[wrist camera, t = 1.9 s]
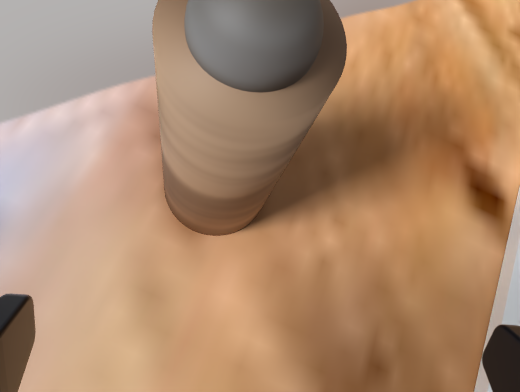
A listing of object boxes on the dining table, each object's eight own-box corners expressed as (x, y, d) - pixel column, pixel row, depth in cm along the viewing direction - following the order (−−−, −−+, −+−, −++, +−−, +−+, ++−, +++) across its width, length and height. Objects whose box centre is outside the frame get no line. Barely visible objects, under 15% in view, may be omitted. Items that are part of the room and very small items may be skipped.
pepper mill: (240, 252, 23) (332, 116, 9) (146, 208, 23) (101, 7, 9) (279, 166, 25) (403, -51, 11) (192, 125, 25) (210, -144, 11)
